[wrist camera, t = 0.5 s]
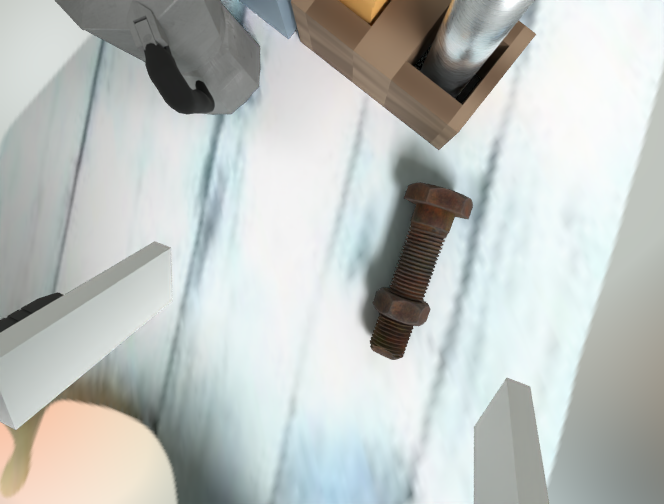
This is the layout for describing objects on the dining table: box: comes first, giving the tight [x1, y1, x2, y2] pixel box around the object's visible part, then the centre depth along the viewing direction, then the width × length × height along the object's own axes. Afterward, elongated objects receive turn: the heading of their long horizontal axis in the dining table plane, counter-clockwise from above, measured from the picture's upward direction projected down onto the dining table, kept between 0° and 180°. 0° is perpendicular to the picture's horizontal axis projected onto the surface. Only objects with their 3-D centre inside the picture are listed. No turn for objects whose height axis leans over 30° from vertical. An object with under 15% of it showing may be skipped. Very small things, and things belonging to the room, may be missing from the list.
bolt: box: [370, 182, 473, 360], centre depth 33 cm, size 6×5×15 cm
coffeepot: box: [55, 0, 260, 115], centre depth 26 cm, size 15×9×18 cm, turn 20°
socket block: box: [291, 0, 536, 150], centre depth 31 cm, size 9×16×6 cm, turn 52°
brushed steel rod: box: [420, 0, 535, 99], centre depth 26 cm, size 4×4×16 cm
